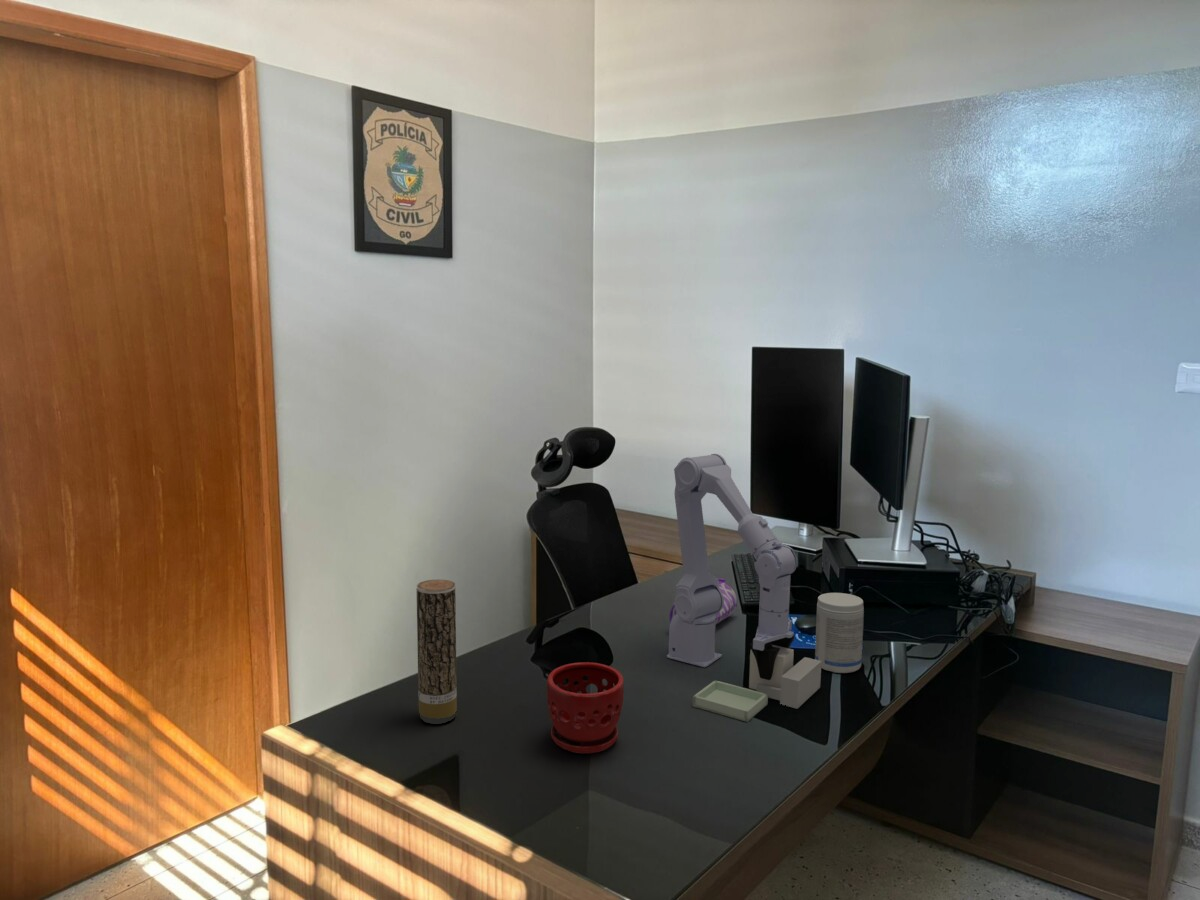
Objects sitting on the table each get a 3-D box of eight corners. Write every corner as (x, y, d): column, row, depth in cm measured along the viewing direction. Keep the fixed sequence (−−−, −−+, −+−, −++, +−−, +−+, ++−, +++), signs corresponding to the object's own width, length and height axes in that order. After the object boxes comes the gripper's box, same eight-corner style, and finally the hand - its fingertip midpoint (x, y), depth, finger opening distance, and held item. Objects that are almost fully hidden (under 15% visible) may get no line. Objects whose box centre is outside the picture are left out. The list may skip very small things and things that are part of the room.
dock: (753, 696, 171) (754, 669, 170) (777, 676, 181) (778, 651, 180) (797, 708, 166) (798, 681, 165) (820, 687, 176) (821, 661, 175)
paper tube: (463, 713, 162) (462, 581, 158) (445, 729, 156) (443, 592, 152) (430, 707, 164) (428, 577, 161) (411, 722, 158) (409, 588, 154)
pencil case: (705, 610, 222) (706, 573, 220) (740, 617, 217) (741, 579, 215) (665, 636, 203) (666, 597, 201) (702, 644, 198) (703, 604, 197)
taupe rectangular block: (746, 687, 175) (747, 648, 174) (756, 678, 179) (758, 641, 178) (782, 696, 171) (784, 657, 170) (792, 688, 175) (793, 649, 174)
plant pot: (532, 738, 153) (532, 672, 151) (592, 718, 161) (593, 655, 159) (576, 769, 143) (576, 699, 141) (638, 746, 150) (639, 679, 149)
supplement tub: (870, 668, 185) (874, 601, 183) (839, 678, 180) (843, 609, 178) (835, 653, 193) (838, 589, 191) (804, 662, 188) (807, 596, 186)
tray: (692, 706, 166) (692, 696, 166) (714, 689, 174) (715, 680, 173) (747, 722, 160) (747, 711, 160) (767, 704, 168) (768, 694, 167)
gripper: (778, 622, 164) (775, 691, 166) (807, 602, 176) (804, 666, 178) (743, 614, 168) (741, 682, 170) (774, 595, 180) (771, 658, 182)
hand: (771, 673), depth 175 cm, fingers closed on taupe rectangular block, 5 cm apart
